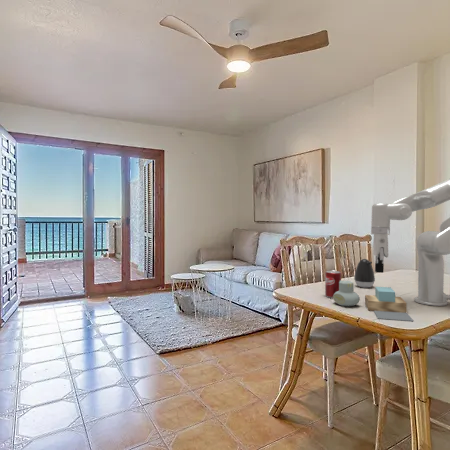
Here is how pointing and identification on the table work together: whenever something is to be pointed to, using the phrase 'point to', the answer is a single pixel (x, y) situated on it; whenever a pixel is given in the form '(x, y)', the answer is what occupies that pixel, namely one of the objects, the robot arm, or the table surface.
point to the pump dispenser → (364, 274)
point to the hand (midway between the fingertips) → (379, 272)
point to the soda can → (332, 282)
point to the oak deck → (385, 304)
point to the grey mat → (393, 316)
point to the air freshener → (346, 294)
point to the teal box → (385, 294)
